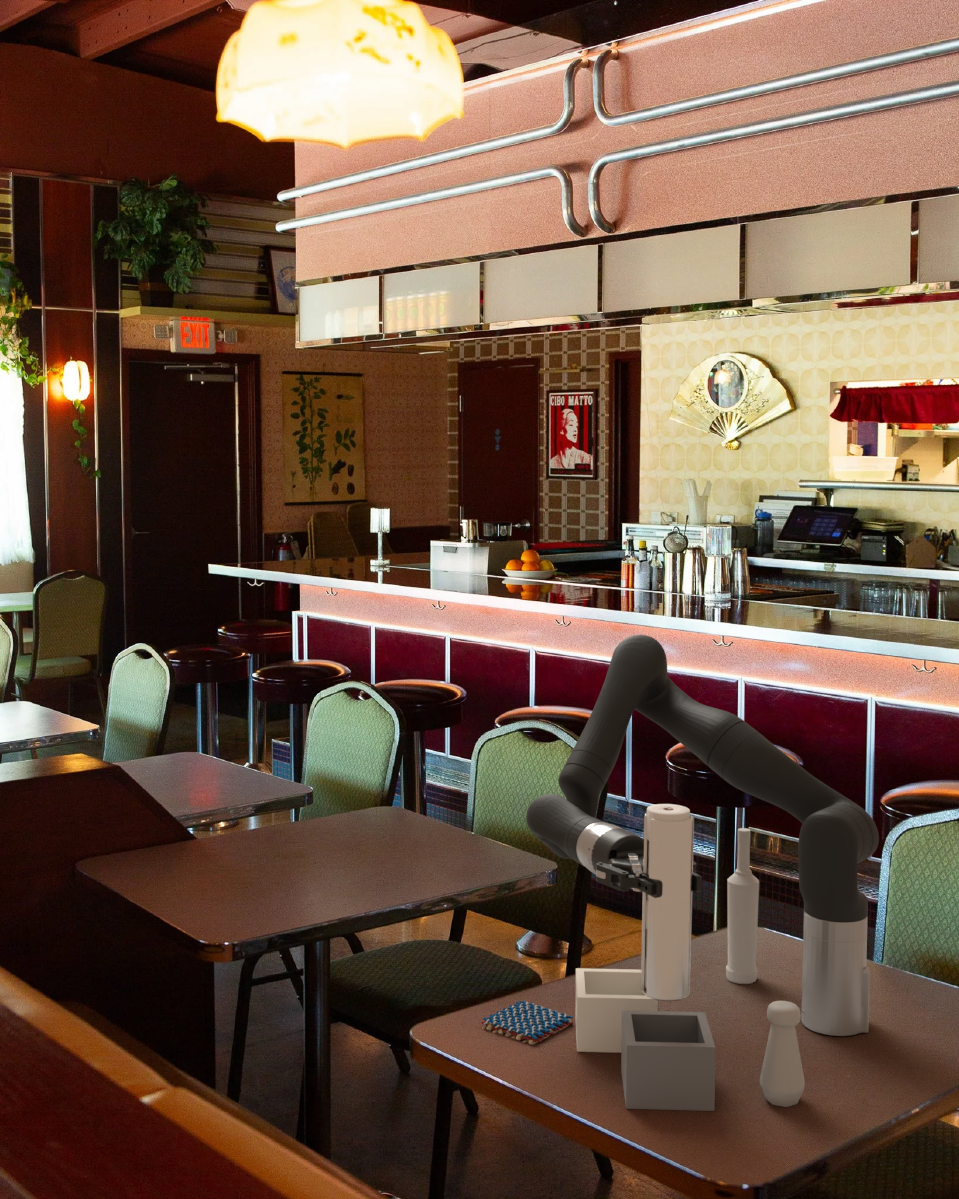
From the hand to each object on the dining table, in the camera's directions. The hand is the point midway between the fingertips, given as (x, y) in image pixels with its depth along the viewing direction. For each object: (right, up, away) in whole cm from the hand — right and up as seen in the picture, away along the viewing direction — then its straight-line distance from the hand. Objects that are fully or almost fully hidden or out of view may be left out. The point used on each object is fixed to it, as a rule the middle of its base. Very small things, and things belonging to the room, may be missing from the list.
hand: (679, 887), depth 170 cm
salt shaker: (+14, -29, +2) cm, 32 cm away
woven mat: (-19, -27, +25) cm, 42 cm away
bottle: (+17, -25, +44) cm, 54 cm away
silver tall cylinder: (-1, -15, +4) cm, 15 cm away
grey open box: (-1, -28, +5) cm, 29 cm away
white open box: (-6, -27, +22) cm, 35 cm away
